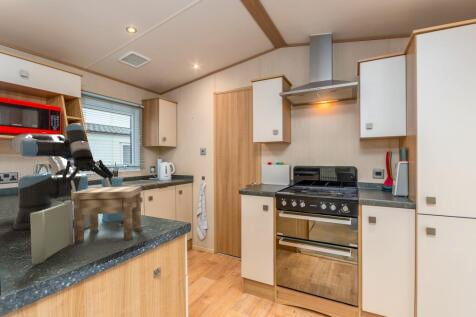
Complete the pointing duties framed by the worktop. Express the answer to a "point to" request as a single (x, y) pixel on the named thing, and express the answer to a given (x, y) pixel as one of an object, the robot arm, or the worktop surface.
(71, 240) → the pale green flat panel
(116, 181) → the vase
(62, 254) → the worktop surface
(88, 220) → the flask
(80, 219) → the stool
